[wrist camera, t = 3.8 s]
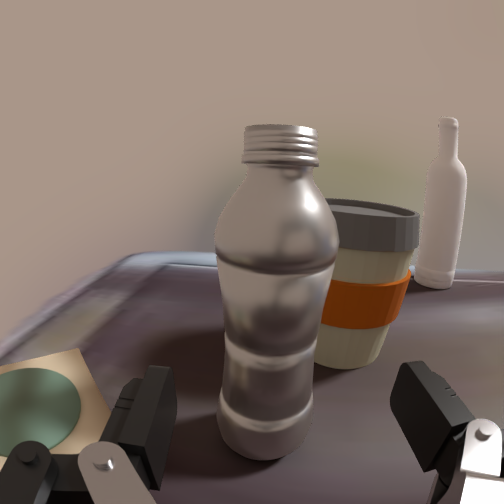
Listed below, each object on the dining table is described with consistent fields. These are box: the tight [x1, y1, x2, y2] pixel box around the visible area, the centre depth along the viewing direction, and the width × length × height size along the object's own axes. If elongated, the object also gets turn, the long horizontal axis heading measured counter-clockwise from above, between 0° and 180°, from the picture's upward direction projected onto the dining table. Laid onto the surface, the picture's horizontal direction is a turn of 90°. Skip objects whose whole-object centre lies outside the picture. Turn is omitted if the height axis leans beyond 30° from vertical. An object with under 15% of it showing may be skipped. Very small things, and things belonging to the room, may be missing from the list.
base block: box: [0, 348, 111, 471], centre depth 15 cm, size 12×12×4 cm
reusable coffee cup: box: [314, 198, 420, 369], centre depth 30 cm, size 13×13×15 cm
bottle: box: [414, 117, 467, 289], centre depth 48 cm, size 8×8×30 cm
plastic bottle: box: [214, 124, 340, 460], centre depth 17 cm, size 6×7×20 cm
